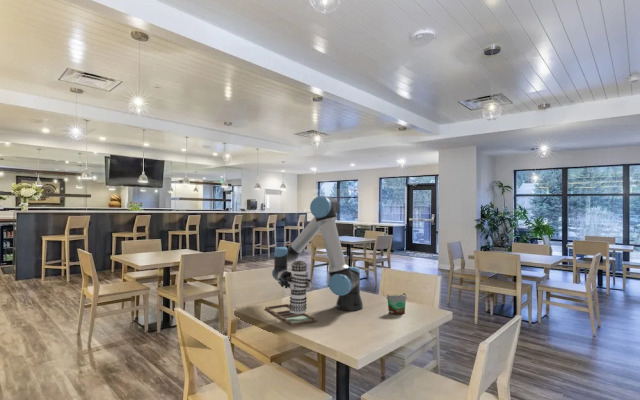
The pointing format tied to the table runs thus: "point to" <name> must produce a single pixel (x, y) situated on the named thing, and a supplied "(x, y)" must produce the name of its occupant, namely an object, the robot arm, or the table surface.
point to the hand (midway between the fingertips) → (302, 286)
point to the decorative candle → (298, 287)
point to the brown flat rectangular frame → (291, 316)
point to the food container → (397, 304)
